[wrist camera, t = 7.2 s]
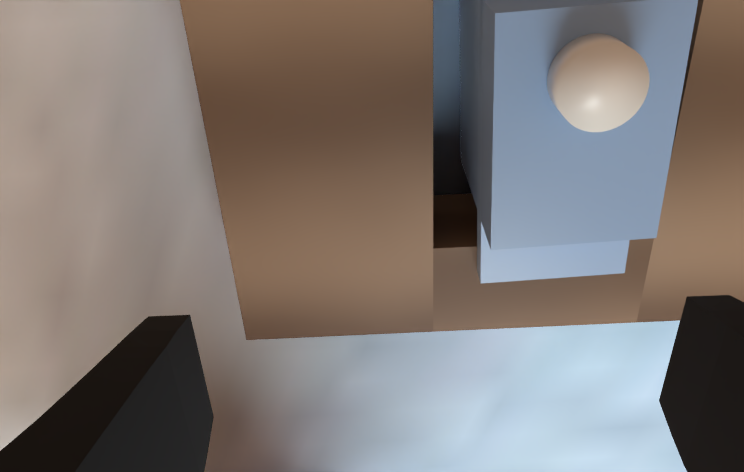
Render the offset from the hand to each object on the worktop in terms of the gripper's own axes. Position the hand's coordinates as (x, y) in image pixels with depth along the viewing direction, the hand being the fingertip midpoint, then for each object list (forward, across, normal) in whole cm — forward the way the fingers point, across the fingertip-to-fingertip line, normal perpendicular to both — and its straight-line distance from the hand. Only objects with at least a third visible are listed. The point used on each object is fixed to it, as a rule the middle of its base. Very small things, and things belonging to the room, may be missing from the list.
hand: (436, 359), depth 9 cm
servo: (+10, -3, -2) cm, 10 cm away
